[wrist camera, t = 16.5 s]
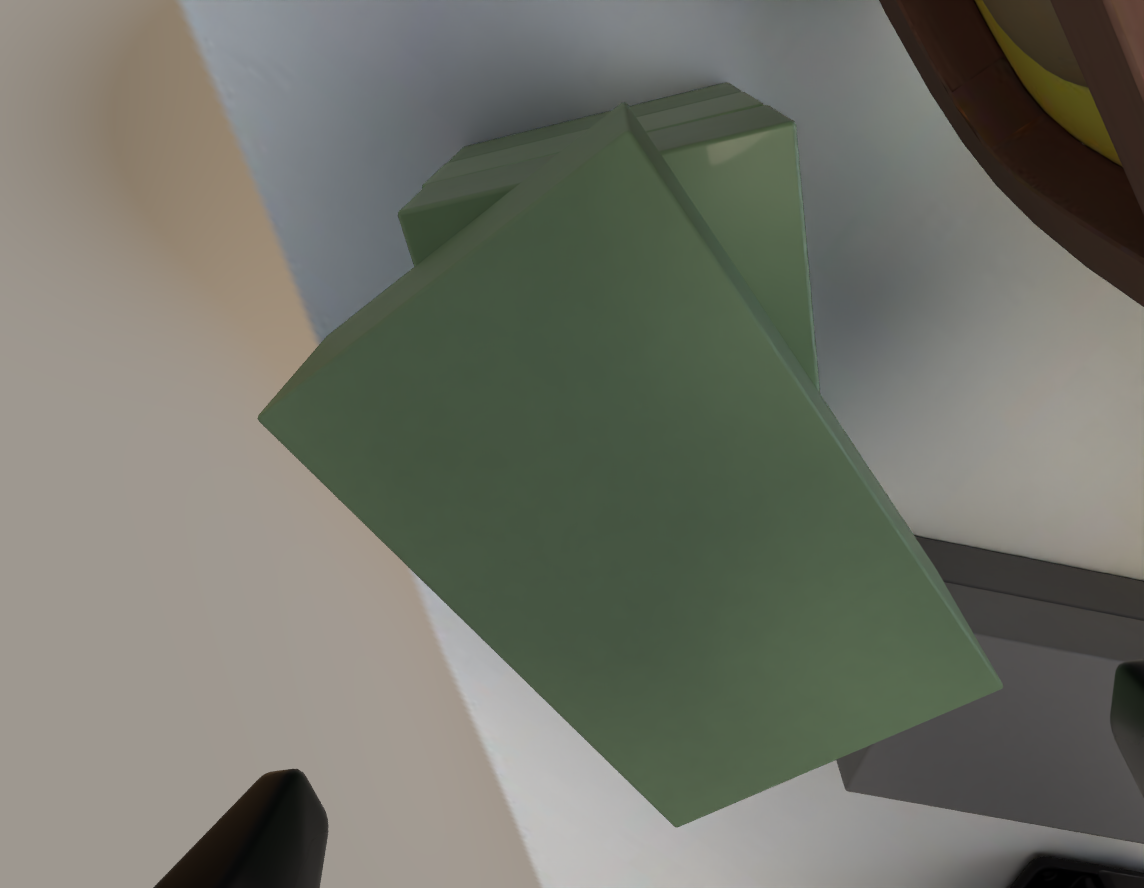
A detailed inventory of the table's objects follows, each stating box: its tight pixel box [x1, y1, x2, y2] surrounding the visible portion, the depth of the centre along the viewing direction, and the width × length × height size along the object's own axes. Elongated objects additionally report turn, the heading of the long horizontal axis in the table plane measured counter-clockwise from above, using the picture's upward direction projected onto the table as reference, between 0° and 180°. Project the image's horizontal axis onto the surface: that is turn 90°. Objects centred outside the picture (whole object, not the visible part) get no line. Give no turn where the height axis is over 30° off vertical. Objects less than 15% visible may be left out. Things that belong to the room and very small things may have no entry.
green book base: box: [447, 83, 742, 163], centre depth 19 cm, size 10×6×2 cm, turn 13°
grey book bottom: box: [915, 536, 1144, 621], centre depth 23 cm, size 6×10×2 cm, turn 78°
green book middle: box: [422, 92, 764, 189], centre depth 17 cm, size 10×6×2 cm, turn 13°
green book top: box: [398, 105, 820, 393], centre depth 15 cm, size 10×6×2 cm, turn 13°
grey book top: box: [837, 582, 1144, 844], centre depth 21 cm, size 6×10×2 cm, turn 78°
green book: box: [258, 102, 1003, 827], centre depth 13 cm, size 6×10×3 cm, turn 37°
